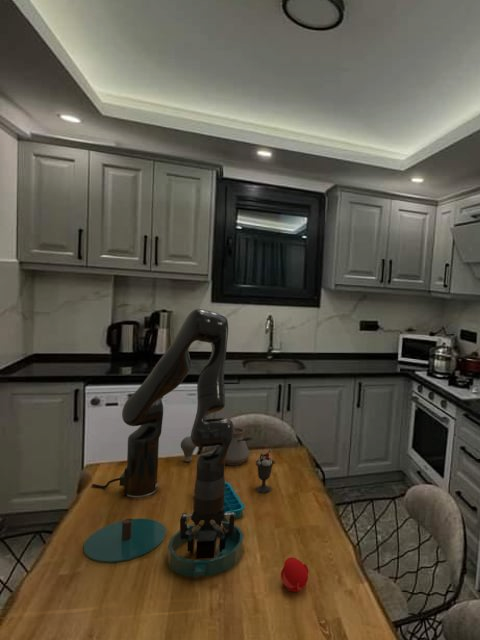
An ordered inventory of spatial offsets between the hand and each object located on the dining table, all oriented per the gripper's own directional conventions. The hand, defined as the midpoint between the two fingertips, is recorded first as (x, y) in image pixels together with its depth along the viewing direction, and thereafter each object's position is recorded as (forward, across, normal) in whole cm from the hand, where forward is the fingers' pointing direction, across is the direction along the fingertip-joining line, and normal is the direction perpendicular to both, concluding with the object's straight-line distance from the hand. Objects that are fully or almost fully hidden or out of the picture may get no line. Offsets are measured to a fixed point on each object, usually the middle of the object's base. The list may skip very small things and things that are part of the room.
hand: (206, 550), depth 116 cm
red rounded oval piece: (+1, -23, +14) cm, 27 cm away
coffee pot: (+1, -4, -56) cm, 56 cm away
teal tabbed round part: (+1, 0, 0) cm, 1 cm away
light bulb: (+1, +16, -61) cm, 63 cm away
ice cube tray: (+1, 0, -25) cm, 25 cm away
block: (+1, 0, 0) cm, 1 cm away
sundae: (+1, -14, -36) cm, 39 cm away
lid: (+1, +22, -8) cm, 23 cm away
